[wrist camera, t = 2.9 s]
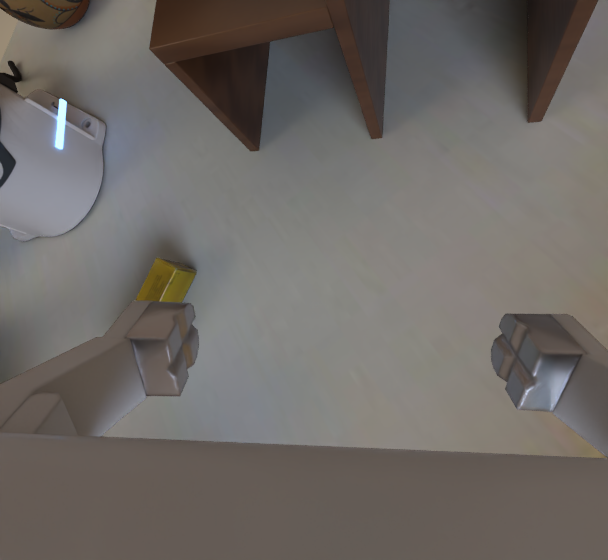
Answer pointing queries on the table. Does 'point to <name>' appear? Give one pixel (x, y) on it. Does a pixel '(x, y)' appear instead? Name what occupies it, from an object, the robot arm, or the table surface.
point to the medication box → (166, 282)
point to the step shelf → (353, 40)
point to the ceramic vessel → (46, 12)
